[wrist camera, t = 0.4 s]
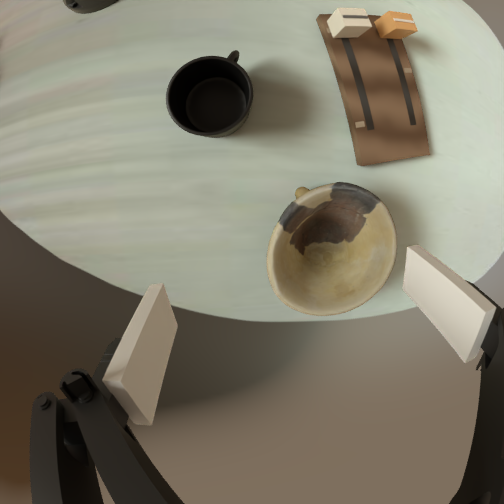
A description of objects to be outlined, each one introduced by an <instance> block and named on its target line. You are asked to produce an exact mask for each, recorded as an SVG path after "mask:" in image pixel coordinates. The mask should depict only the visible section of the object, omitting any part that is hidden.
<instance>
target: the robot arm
mask: <svg viewBox="0 0 504 504" xmlns="http://www.w3.org/2000/svg"><path fill="white" fill-rule="evenodd" d="M116 1H117V0H63V2H64V4H65V5H66V6H67V7H68V8H69V9H71V10H72V11H74V12H76V13H81V14H85V13H91V12H95V11H98V10H100V9H103V8H105V7H107V6H109V5H111V4H112V3H114V2H116ZM402 290H403V291H404V292H405V293H406V294H407V295H408V296H409V297H410V298H411V299H412V301H413V302H414V303H415V304H416V305H417V306H418V307H419V308H420V309H421V311H423V313H424V314H425V315H426V316H427V317H428V319H429V320H430V321H431V322H432V323H433V324H434V326H435V327H436V328H437V329H438V330H439V332H440V333H441V334H442V335H443V336H444V338H445V339H446V340H447V341H448V342H449V344H450V345H451V346H452V347H453V349H454V350H455V351H456V353H457V354H458V355H459V356H460V358H461V359H462V360H463V362H464V363H466V362H468V361H470V360H472V359H474V358H476V356H477V354H478V352H479V350H480V348H482V349H483V350H484V353H483V355H482V357H481V359H480V361H479V363H478V365H477V367H476V370H478V368H479V367H480V366H481V383H480V396H479V405H478V412H477V419H476V425H475V431H474V436H473V441H472V445H471V450H470V454H469V458H468V462H467V466H466V469H465V473H464V476H463V480H462V483H461V486H460V488H459V490H458V492H457V493H456V495H455V496H454V497H453V498H452V500H451V501H450V503H449V504H504V308H503V309H502V308H501V307H500V306H498V305H497V304H496V303H495V302H494V301H493V300H492V299H490V298H489V297H488V296H487V295H485V294H484V293H483V292H482V291H481V290H479V288H478V287H476V286H475V285H474V284H473V283H470V282H468V281H466V280H464V279H463V278H461V277H460V276H459V275H458V274H456V273H455V272H454V271H453V270H451V269H450V268H449V267H448V266H446V265H445V264H444V263H442V262H441V261H440V260H438V259H437V258H436V257H434V256H433V255H432V254H430V253H429V252H428V251H426V250H425V249H423V248H422V247H421V246H419V245H412V246H407V255H406V265H405V273H404V281H403V288H402ZM177 326H178V325H177V322H176V320H175V317H174V314H173V311H172V308H171V305H170V302H169V299H168V296H167V293H166V290H165V287H164V284H163V283H161V284H153V285H150V286H149V288H148V289H147V291H146V293H145V295H144V297H143V299H142V300H141V302H140V304H139V306H138V308H137V310H136V312H135V314H134V316H133V317H132V319H131V321H130V323H129V325H128V327H127V329H126V331H125V333H124V335H123V338H116V339H115V340H114V341H113V342H112V343H111V344H109V345H108V347H107V349H106V351H105V353H104V356H103V357H102V359H101V362H100V363H99V365H98V367H97V369H96V371H95V373H94V375H93V377H92V378H91V377H90V375H89V374H88V372H87V371H86V370H84V369H74V370H71V371H70V372H68V373H67V374H65V375H64V377H63V378H62V379H61V382H60V389H61V390H62V392H63V393H64V394H65V396H66V397H67V398H66V399H60V400H58V398H57V397H56V396H55V395H54V393H52V392H44V393H42V394H40V395H39V396H38V397H37V398H36V399H35V401H34V403H33V407H32V418H31V430H30V479H31V493H32V503H33V504H104V503H103V499H102V495H101V492H100V487H99V483H98V478H97V474H96V469H95V466H96V468H97V470H98V472H99V474H100V476H101V478H102V480H103V482H104V484H105V486H106V488H107V490H108V492H109V493H110V495H111V497H112V499H113V501H114V502H115V504H184V503H183V502H182V500H181V499H180V498H179V497H178V496H177V494H176V493H175V492H174V491H173V490H172V488H171V487H170V486H169V484H168V483H167V482H166V481H165V479H164V478H163V477H162V475H161V474H160V473H159V471H158V470H157V469H156V467H155V466H154V465H153V463H152V462H151V460H150V459H149V457H148V456H147V454H146V453H145V452H144V450H143V448H142V447H141V445H140V444H139V442H138V440H137V439H136V437H135V436H134V434H133V433H132V431H131V429H130V428H129V426H128V425H127V420H128V417H130V419H131V420H132V421H133V422H134V424H139V425H152V422H153V418H154V414H155V410H156V405H157V401H158V397H159V393H160V389H161V385H162V381H163V377H164V374H165V370H166V366H167V362H168V359H169V355H170V351H171V348H172V344H173V340H174V337H175V333H176V330H177Z"/></svg>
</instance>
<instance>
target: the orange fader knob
mask: <svg viewBox="0 0 504 504" xmlns="http://www.w3.org/2000/svg"><path fill="white" fill-rule="evenodd" d="M374 23H375V25H376V28H377V30H378V33H379V36H380V38H390V39H403V38H405V37H407V36H409V35H411V34H413V33H415V32H417V31H418V30H417V28H416V26H415V23H414V21H413V18H412V16H411V14H407V13H400V12H393V11H388V12H387V13H385V14H384V15H383V16H381V17H380V18H379V19H377V20H376V21H375V22H374Z"/></svg>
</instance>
